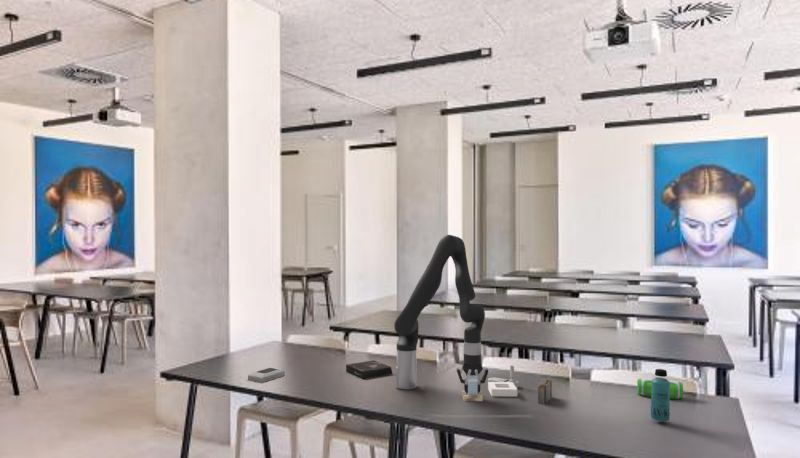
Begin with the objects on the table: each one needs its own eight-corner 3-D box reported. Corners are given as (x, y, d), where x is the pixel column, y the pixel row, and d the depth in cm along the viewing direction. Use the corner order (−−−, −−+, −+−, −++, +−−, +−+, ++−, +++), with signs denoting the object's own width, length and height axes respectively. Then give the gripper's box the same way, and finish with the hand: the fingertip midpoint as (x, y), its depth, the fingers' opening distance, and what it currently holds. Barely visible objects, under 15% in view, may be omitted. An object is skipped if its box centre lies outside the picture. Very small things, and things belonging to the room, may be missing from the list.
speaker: (680, 396, 244) (681, 379, 244) (683, 401, 237) (683, 383, 237) (637, 392, 250) (637, 375, 250) (638, 397, 243) (638, 380, 243)
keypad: (247, 372, 268) (270, 366, 281) (247, 380, 269) (270, 373, 281) (262, 375, 263) (284, 368, 276) (262, 383, 264) (284, 376, 276)
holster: (463, 403, 234) (463, 396, 234) (461, 397, 242) (461, 390, 242) (482, 403, 234) (482, 396, 234) (480, 397, 242) (480, 390, 242)
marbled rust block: (545, 405, 232) (545, 382, 232) (538, 404, 234) (538, 381, 234) (552, 398, 242) (552, 375, 242) (545, 397, 244) (545, 374, 244)
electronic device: (491, 361, 267) (520, 365, 258) (491, 382, 267) (520, 387, 258) (485, 364, 263) (514, 368, 253) (486, 384, 263) (515, 389, 253)
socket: (491, 398, 240) (491, 389, 240) (487, 390, 251) (488, 382, 251) (517, 398, 240) (517, 389, 240) (512, 391, 251) (512, 382, 251)
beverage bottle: (647, 419, 214) (647, 367, 214) (664, 419, 215) (664, 367, 215) (656, 425, 208) (656, 372, 208) (673, 425, 209) (674, 371, 208)
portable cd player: (392, 374, 280) (392, 366, 280) (362, 380, 270) (362, 371, 270) (374, 367, 293) (374, 360, 293) (346, 372, 284) (346, 364, 284)
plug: (467, 399, 236) (468, 375, 236) (466, 396, 240) (467, 373, 240) (477, 399, 236) (477, 375, 236) (476, 396, 240) (476, 373, 240)
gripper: (456, 354, 234) (456, 395, 234) (490, 354, 234) (490, 395, 234) (454, 350, 241) (454, 390, 242) (488, 350, 241) (487, 390, 241)
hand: (472, 392), depth 238 cm, fingers closed on plug, 4 cm apart
